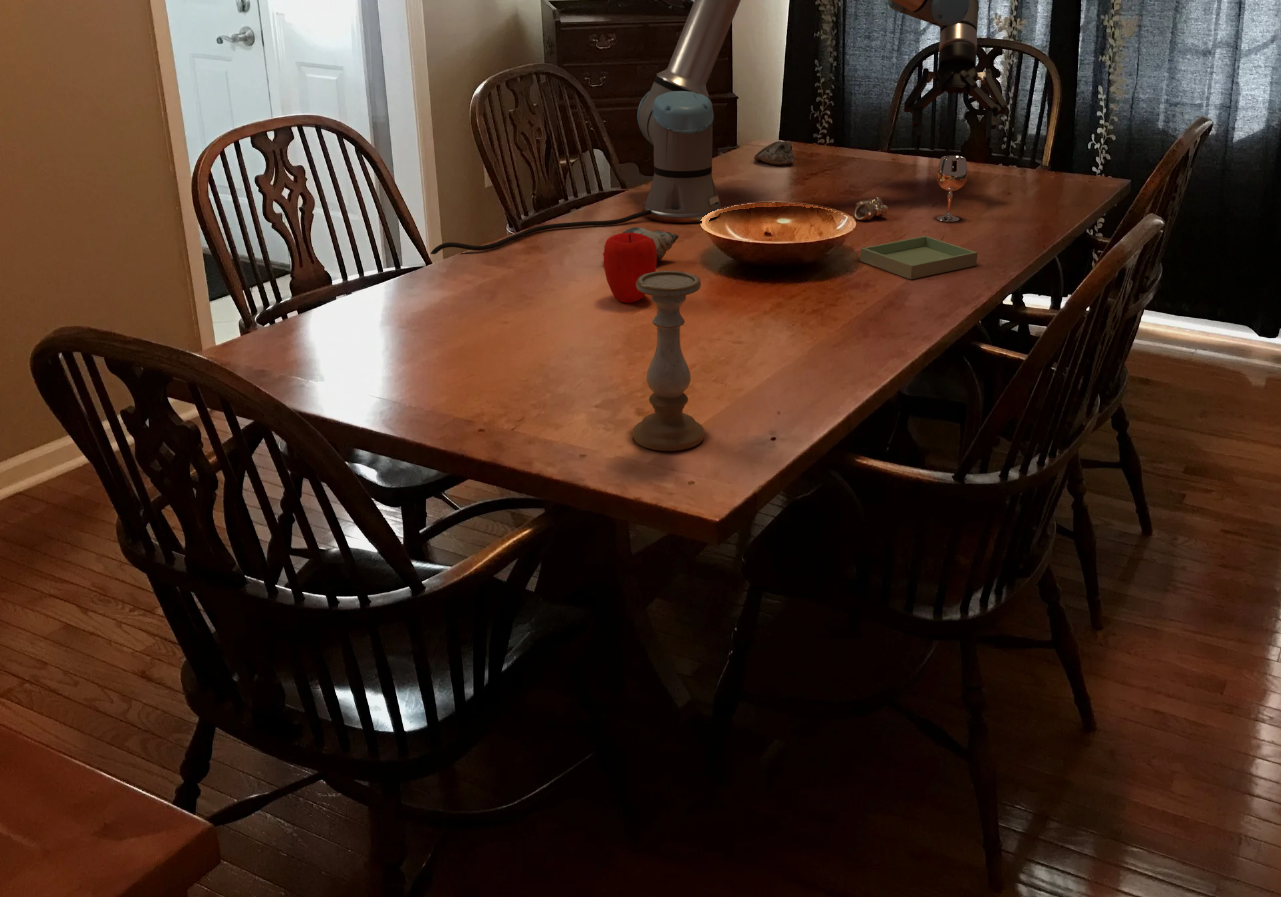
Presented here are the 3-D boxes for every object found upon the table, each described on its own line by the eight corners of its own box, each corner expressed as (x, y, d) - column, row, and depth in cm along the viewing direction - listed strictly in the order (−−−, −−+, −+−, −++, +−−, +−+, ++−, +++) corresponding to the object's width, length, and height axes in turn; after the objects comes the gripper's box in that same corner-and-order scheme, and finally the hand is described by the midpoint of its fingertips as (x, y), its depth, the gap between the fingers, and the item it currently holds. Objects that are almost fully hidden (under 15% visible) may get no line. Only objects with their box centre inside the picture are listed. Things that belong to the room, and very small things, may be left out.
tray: (910, 279, 215) (911, 265, 214) (860, 261, 225) (860, 248, 224) (976, 265, 222) (977, 252, 221) (924, 248, 232) (925, 235, 231)
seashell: (614, 264, 230) (677, 269, 226) (599, 258, 223) (663, 263, 219) (619, 229, 230) (681, 234, 226) (604, 222, 223) (667, 226, 219)
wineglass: (960, 215, 254) (966, 155, 249) (964, 222, 248) (970, 161, 243) (931, 214, 254) (936, 154, 249) (934, 222, 249) (940, 161, 244)
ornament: (879, 224, 248) (880, 205, 247) (847, 219, 251) (848, 201, 250) (895, 215, 254) (896, 197, 253) (863, 211, 258) (864, 193, 256)
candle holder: (690, 456, 152) (691, 293, 143) (622, 446, 155) (619, 286, 146) (713, 428, 159) (715, 272, 151) (648, 419, 162) (647, 265, 154)
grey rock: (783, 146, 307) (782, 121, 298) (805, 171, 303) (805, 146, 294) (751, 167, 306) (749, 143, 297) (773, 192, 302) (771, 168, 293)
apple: (667, 302, 205) (667, 236, 201) (620, 311, 202) (619, 244, 197) (640, 288, 212) (639, 224, 208) (594, 296, 209) (592, 232, 204)
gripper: (1017, 64, 262) (1015, 152, 255) (895, 63, 266) (889, 149, 259) (1022, 41, 255) (1020, 130, 248) (896, 40, 260) (890, 128, 252)
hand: (953, 140), depth 254 cm, fingers open, 13 cm apart
